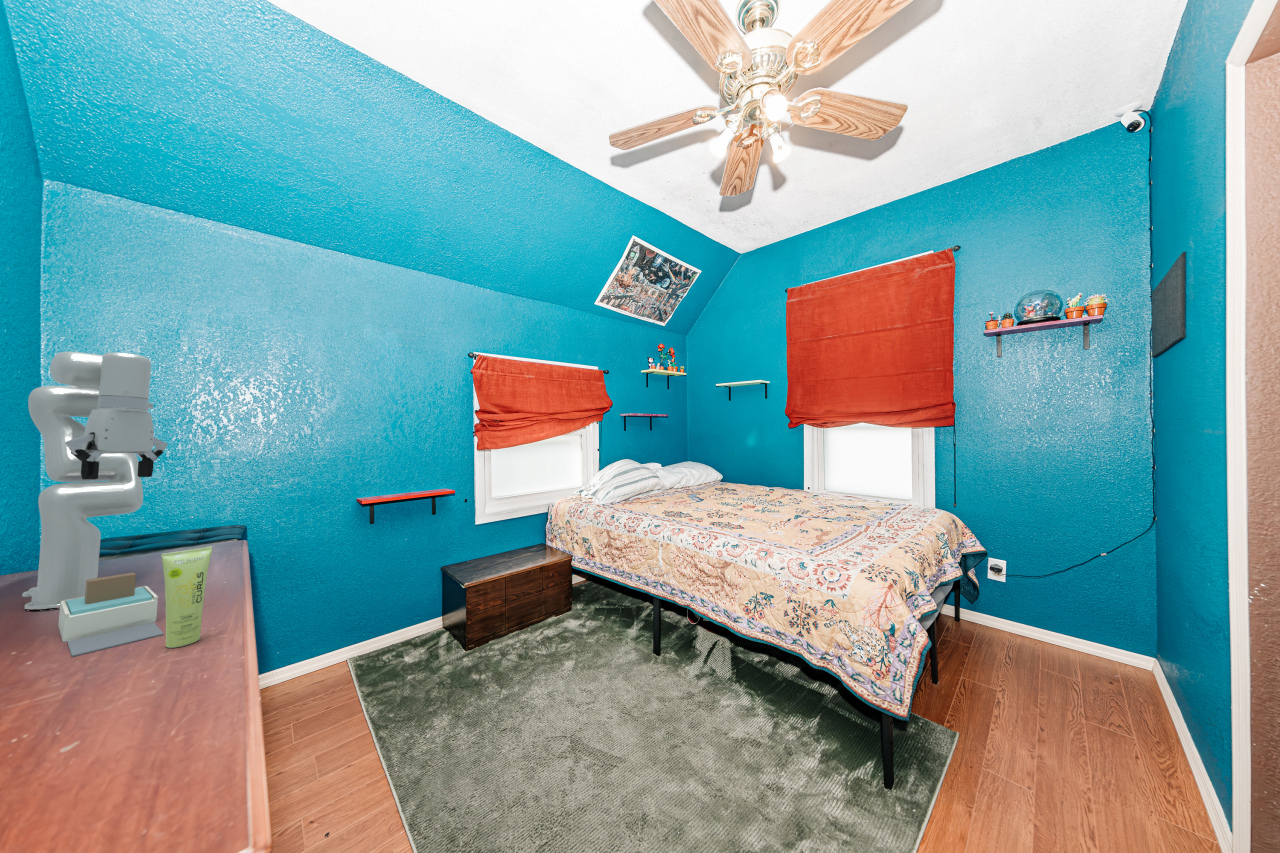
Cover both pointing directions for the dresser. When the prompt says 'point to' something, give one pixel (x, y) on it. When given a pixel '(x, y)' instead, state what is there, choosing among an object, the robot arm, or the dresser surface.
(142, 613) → the box
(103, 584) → the lid
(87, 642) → the mat
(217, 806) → the dresser surface
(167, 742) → the dresser surface
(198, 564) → the tube
